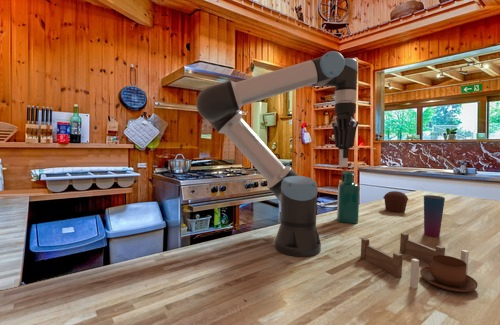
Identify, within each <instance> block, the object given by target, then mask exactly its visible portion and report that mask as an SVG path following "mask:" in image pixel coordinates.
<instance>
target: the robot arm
mask: <svg viewBox="0 0 500 325" xmlns="http://www.w3.org/2000/svg"><path fill="white" fill-rule="evenodd" d="M358 69H359V68H358V60H356V59H355V58H351V57H346V58H344V56H343V55H342V54H341V53H340V52H338V51H335V50H331V51H327V52H326V53H324V54H323V55H322V56H320V57H317V58H313V59H310V60H306V61H303V62H300V63H296V64H294V65H290V66H287V67H286V66H285V67H283V68H280V69H276V70H273V71H269V72H266V73H263V74H260V75H257V76H253V77H250V78H246V79H244V80H240V81H236V82H235V81H233V80H229V81H225V82H222V83H217V84H214V85H210V86H207V87H205V88H203V89H202V90H201V91H200V92H199V94H198V95H197V97H196V102H195V103H196V104H195V105H196V110H197V112H198V114H199V115H200V117H202V118H203V119H204V120H206V121H207V122H208V123H209V124H210V125H211V127H213V129H214V130H216V132H217V133H218V134H223V135H224V134H225V136H226V137H227V138H228V139H229V140H230V141H231V143H233V144H234V145H235V147H236V148H237V149H238V150H239V151H240V152H241V153H242V155H243V156H244V157H245V158H246V159H247V160H248V161H249V162H250V163H251V165H252V166H253V167H254V168H255V169H256V170H257V171H258V172H259V174H261V176H262V177H263V178H264V179H265V180H266V181H267V185H266V187H267V188H268V189H269V191H270V192H271V193H272V194H273V195H274V197H276V199H277V200H278V201H279V202H280V225H279V228H278V230H277V234H276V237H275V239H274V248H275V249H276V251H278V252H280V253H282V254H284V255H287V256H292V257H311V256H312V257H313V256H316V255H318V254H320V252H321V250H322V248H321V247H322V242H321V238H320V236H319V232H318V228H317V211H318V210H317V209H318V207H317V205H318V199H317V198H318V192H319V191H318V184H317V182H316V180H315V179H313V178H311V177H307V176H303V175H299V174H298V173H296V171H295V170H294V169H293V168H292V167H291V166H287V165H286V166H285V165H284V164H283V163H282V162H281V161H280V159H278V157H277V156H276V154H275V153H273V152H272V150H271V149H270V148H269V147H268V145H266V143H265V142H264V141H263V140H262V138H260V137H259V135H258V134H257V133H256V132H255V131H254V130H253V129H252V128H251V127H250V125H249V124H248V123H247V122H246V121H245V120H244V119H243V111H242V110H241V108H242V107H244V106H246V105H250V104H253V103H255V102H259V101H262V100H266V99H269V98H272V97H275V96H278V95H282V94H285V93H289V92H291V91H295V90H299V89H302V88H305V87H312V88H314V87H332V88H333V87H334V103H335V104H334V114H335V115H336V120H335V122H332V123H331V124H332V128H333V129H332V130H333V137H334V138H333V139H334V145H335V148H337V149H338V167H339V168H347V167H348V163H349V150H350V149H352V148H353V147H354V142H355V137H356V134H357V129H358V128H357V127H358V125H359V121H357V120H355V117H354V114H356V113H357V104H356V102H357V88H358V87H357V86H358V85H357V84H358V72H359V71H358Z"/></svg>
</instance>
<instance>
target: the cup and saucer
mask: <svg viewBox="0 0 500 325" xmlns="http://www.w3.org/2000/svg"><path fill="white" fill-rule="evenodd" d="M466 269H467V264H466V263H465V262H464V261H462V260H461V258H457V257H453V256H450V255H434V256H432V261H431V264H430V266H425V267H422V268H421V269H419V273H420V275H421V277H422V278H423V279H424V280H425V281H426V282H428V283H429V284H431V285H432V286H434V287H438V288H440V289H443V290H446V291H450V292H451V291H452V292H456V293H468V292H472V291H474V290H476V289H477V288H478V287H479V286H478V282H477V280H475V279H474V278H473V277H472V276H470V275H468V274H467V275H466Z"/></svg>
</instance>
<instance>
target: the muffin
mask: <svg viewBox="0 0 500 325" xmlns="http://www.w3.org/2000/svg"><path fill="white" fill-rule="evenodd" d="M385 193H386V192H385ZM383 199H384V207H385V210H386V212H389V213H395V214H403V213H405V211H406V208H407V203H408V201H409V197H408V195H406V194H405V193H404V192H401V191H396V190H395V191H393V190H392V191H388V192H387V193H386V194H384V196H383Z"/></svg>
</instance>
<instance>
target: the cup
mask: <svg viewBox="0 0 500 325" xmlns="http://www.w3.org/2000/svg"><path fill="white" fill-rule="evenodd" d="M445 199H446V198H445V197H444V196H440V195H432V194H425V195H423V234H424V236H427V237H430V238H439V237H440V236H441V235H440V234H441V229H442V228H441V226H442V221H443V215H444V214H443V213H444V209H445V208H444V206H445Z"/></svg>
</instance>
